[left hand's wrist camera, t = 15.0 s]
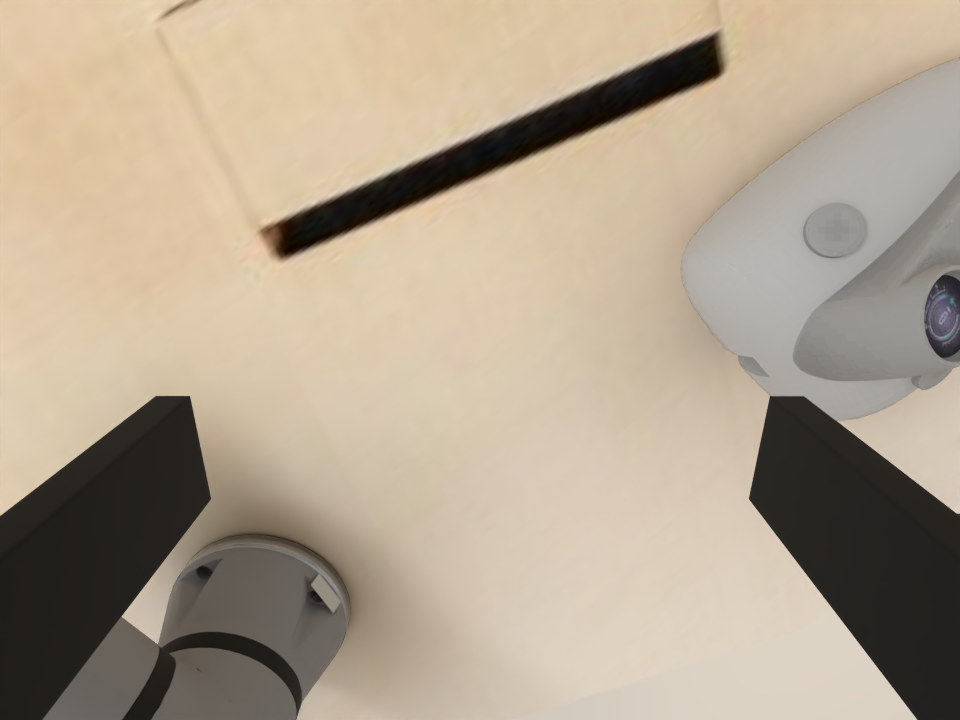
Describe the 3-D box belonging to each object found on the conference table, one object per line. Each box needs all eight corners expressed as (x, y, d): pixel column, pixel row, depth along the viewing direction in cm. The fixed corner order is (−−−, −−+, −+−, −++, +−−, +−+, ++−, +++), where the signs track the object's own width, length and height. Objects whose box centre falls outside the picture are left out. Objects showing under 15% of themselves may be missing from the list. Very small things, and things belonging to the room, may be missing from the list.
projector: (955, 380, 42) (1183, 492, 29) (653, 392, 43) (735, 508, 29) (1050, 50, 34) (1427, -13, 21) (677, 68, 35) (806, 18, 21)
